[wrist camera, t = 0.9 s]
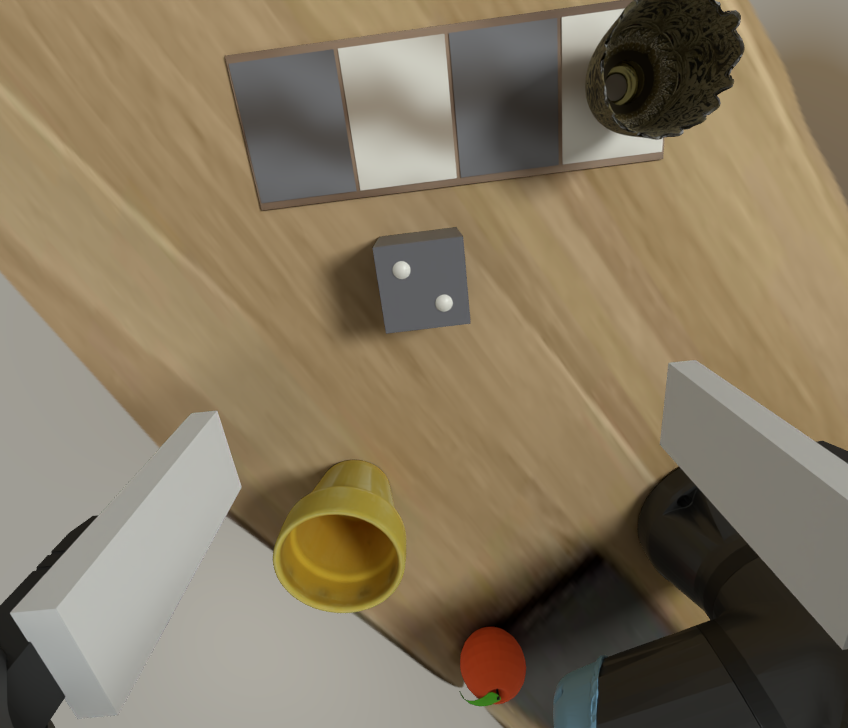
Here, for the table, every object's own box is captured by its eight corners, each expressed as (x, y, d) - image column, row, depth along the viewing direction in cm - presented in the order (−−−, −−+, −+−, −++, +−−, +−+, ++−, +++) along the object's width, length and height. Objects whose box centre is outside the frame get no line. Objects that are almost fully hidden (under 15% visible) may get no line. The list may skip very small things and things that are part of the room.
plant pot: (281, 464, 44) (245, 540, 35) (379, 425, 42) (369, 493, 33) (332, 543, 47) (312, 629, 38) (425, 509, 46) (427, 591, 37)
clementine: (474, 667, 55) (482, 734, 48) (437, 635, 53) (440, 701, 46) (530, 636, 53) (546, 702, 46) (495, 602, 51) (506, 666, 44)
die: (462, 301, 38) (470, 323, 33) (390, 310, 38) (386, 333, 33) (456, 226, 36) (463, 236, 30) (379, 236, 36) (372, 247, 31)
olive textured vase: (538, 93, 32) (574, 69, 25) (620, -5, 30) (685, -63, 23) (609, 169, 34) (662, 167, 27) (690, 81, 32) (772, 53, 25)
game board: (661, 159, 34) (663, 158, 34) (262, 210, 35) (261, 210, 35) (672, -7, 31) (675, -8, 30) (225, 56, 32) (224, 55, 31)
